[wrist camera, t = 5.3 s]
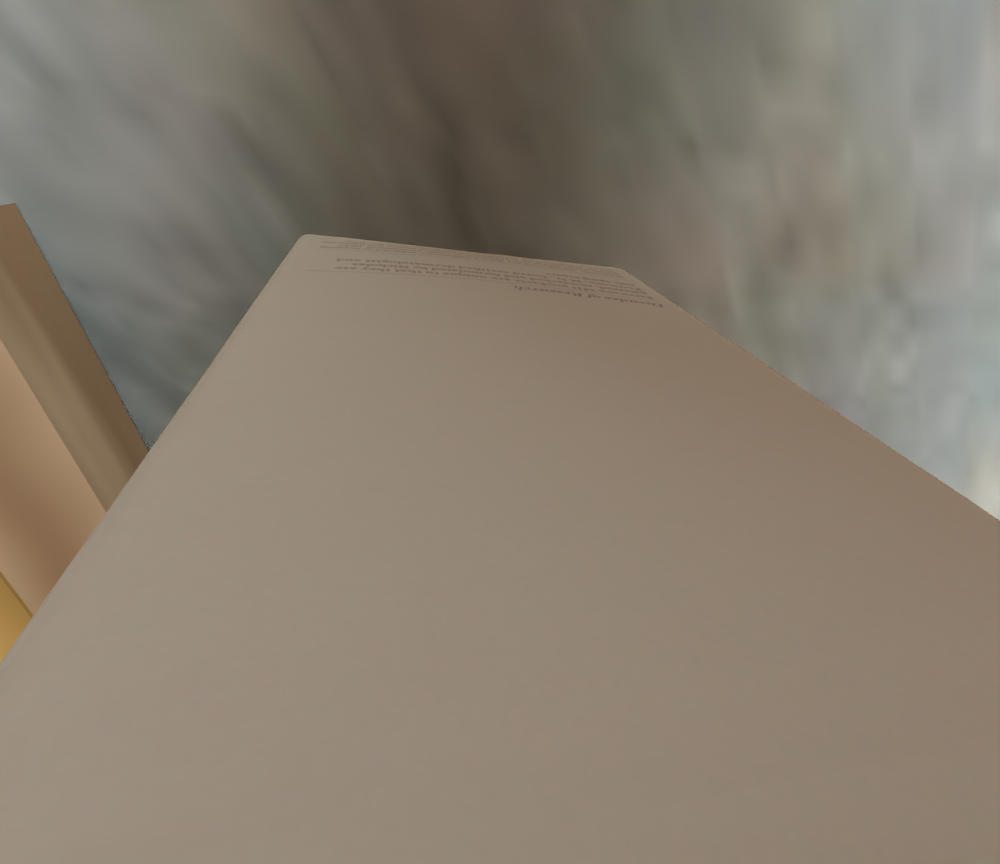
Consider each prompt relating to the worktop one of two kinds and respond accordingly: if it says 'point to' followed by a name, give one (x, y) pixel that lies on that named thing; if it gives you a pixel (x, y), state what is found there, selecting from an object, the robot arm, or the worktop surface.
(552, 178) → the worktop surface
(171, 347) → the worktop surface
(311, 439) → the supplement box
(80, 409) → the wooden tray
